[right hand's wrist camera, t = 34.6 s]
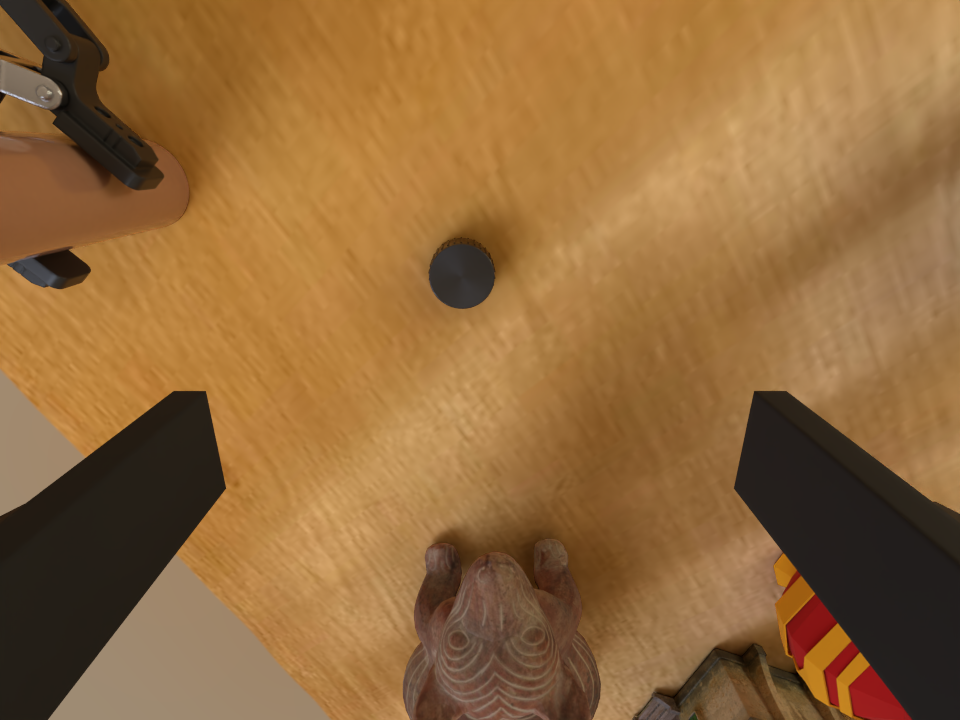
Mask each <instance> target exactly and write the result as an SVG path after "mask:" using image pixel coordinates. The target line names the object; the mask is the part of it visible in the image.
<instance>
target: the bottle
mask: <svg viewBox="0 0 960 720" xmlns="http://www.w3.org/2000/svg"><path fill="white" fill-rule="evenodd" d="M142 140H143V141H145V142H146V143H147V144H148V145H149V146H150V147H151V148H152V149H153V151H154V152H155V154H156V156H157V157H158V159H159V160H158V162H157V163H156V164H155V166H156V167H157V168H158V169H159V170H161V171H162V173H163V174H164V176H165V177H164V178H163V180H162V181H161V182H160V184H159V185H158V186H157V187H156V189H149V190H140V191H138V190H134V189H132V188H130V187H128V186H126V185H125V184H123V183H122V182H121V181H120V180H119V179H117V178H116V177H115V176H114V175H113V174H112V173H110V172H109V171H108V170H107V169H106V168H104V167H103V166H102V165H101V164H100V163H99V162H97V161H96V160H95V159H94V158H93V157H91V156H90V155H89V154H88V153H87V152H86V151H84V150H83V149H82V148H81V147H80V146H79V145H77V144H76V143H75V142H74V141H73V140H71V139H70V138H69V137H68V136H67V135H66V134H54V133H36V132H18V131H0V266H1V265H5V264H9V263H14V262H18V261H22V260H26V259H31V258H35V257H39V256H43V255H48V254H52V253H56V252H60V251H65V250H69V249H73V248H77V247H82V246H86V245H90V244H94V243H99V242H103V241H107V240H111V239H116V238H120V237H124V236H128V235H133V234H137V233H141V232H145V231H150V230H154V229H158V228H162V227H166V226H169V225H171V224H173V223H174V222H176V221H177V220H178V219H179V218H180V217H181V216H182V215H183V213H184V212H185V210H186V207H187V205H188V200H189V186H188V181H187V178H186V175H185V173H184V170H183V169H182V167H181V165H180V164H179V162H178V161H177V160H176V159H175V157H174V156H173V155H172V154H171V153H170V152H168V151H167V150H166V149H165V148H163V147H162V146H160V145H158V144H156V143H154V142H152V141H149V140H145V139H142Z"/></svg>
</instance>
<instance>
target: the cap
mask: <svg viewBox="0 0 960 720" xmlns="http://www.w3.org/2000/svg"><path fill="white" fill-rule="evenodd" d="M494 272H495V269H494V264H493V260H492V259H491V256H490V253H488V252H487V250H486V248H484V247H483V246H482V245H481V243H478V242H476V241H475V240H471V239H469V238H467V239H466V238H462V237H461V238H458V239H455V238H454V239H453V240H450V241H449V240H448V242H446V243H445V244H442V246H441V247H440V248H438V249H437V252H436V253H435V254H434V255H433V259H432V260H431V264H430V270H429V280H430V285H431V288H432V290H433V292H434V294H435V295H436V296H437V298H438V299H439V300H440V301H442V302H443V303H444V304H446V305H448V306H450V307H454V308H459V309H465V308H471V307H474V306H476V305H478V304H480V303H481V302H483V301H484V300H485V299H486V298H487V297H488V295H489V294H490V292H491V290H492V288H493V286H494V279H495V274H494Z"/></svg>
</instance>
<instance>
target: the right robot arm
mask: <svg viewBox="0 0 960 720" xmlns="http://www.w3.org/2000/svg"><path fill="white" fill-rule="evenodd" d="M225 489H226V486H225V481H224V476H223V471H222V467H221V462H220V457H219V452H218V447H217V442H216V438H215V433H214V428H213V423H212V418H211V414H210V409H209V404H208V399H207V394H206V391H173V392H172V393H171V394H169V395H168V396H167V397H165V398H164V399H163V400H161V401H160V402H159V403H158V404H156V405H155V406H154V407H152V408H151V409H150V410H148V411H147V412H146V413H144V414H143V415H142V416H140V417H139V418H138V419H136V420H135V421H134V422H132V423H131V424H130V425H129V426H127V427H126V428H125V429H123V430H122V431H121V432H119V433H118V434H117V435H115V436H114V437H113V438H111V439H110V440H109V441H107V442H106V443H105V444H103V445H102V446H101V447H100V448H98V449H97V450H96V451H94V452H93V453H92V454H90V455H89V456H88V457H86V458H85V459H84V460H82V461H81V462H80V463H79V464H77V465H76V466H74V467H73V468H72V469H71V470H69V471H68V472H67V473H65V474H64V475H63V476H61V477H60V478H59V479H57V480H56V481H55V482H53V483H52V484H51V485H50V486H48V487H47V488H45V489H44V490H43V491H42V492H40V493H39V494H38V495H36V496H35V497H34V498H32V499H31V500H30V501H28V502H27V503H26V504H24V505H21V506H20V507H17V508H16V509H14V510H12V511H10V512H8V513H6V514H4V515H2V516H0V720H48V719H49V717H50V716H51V715H52V714H53V712H54V711H55V710H56V708H57V707H58V706H59V704H60V703H61V702H62V701H63V699H64V698H65V697H66V695H67V694H68V693H69V691H70V690H71V689H72V688H73V686H74V685H75V684H76V682H77V681H78V680H79V679H80V677H81V676H82V675H83V673H84V672H85V671H86V669H87V668H88V667H89V665H90V664H91V663H92V662H93V660H94V659H95V658H96V656H97V655H98V654H99V652H100V651H101V650H102V649H103V647H104V646H105V645H106V643H107V642H108V641H109V639H110V638H111V637H112V636H113V634H114V633H115V632H116V631H117V629H118V628H119V627H120V625H121V624H122V623H123V621H124V620H125V619H126V618H127V616H128V615H129V614H130V612H131V611H132V610H133V608H134V607H135V606H136V605H137V603H138V602H139V601H140V599H141V598H142V597H143V595H144V594H145V593H146V592H147V590H148V589H149V588H150V586H151V585H152V584H153V582H154V581H155V580H156V579H157V577H158V576H159V575H160V573H161V572H162V571H163V570H164V568H165V567H166V566H167V564H168V563H169V562H170V560H171V559H172V558H173V556H174V555H175V554H176V553H177V551H178V550H179V549H180V547H181V546H182V545H183V544H184V542H185V541H186V540H187V538H188V537H189V536H190V534H191V533H192V532H193V531H194V529H195V528H196V527H197V525H198V524H199V523H200V522H201V520H202V519H203V518H204V516H205V515H206V514H207V512H208V511H209V510H210V509H211V507H212V506H213V505H214V503H215V502H216V501H217V499H218V498H219V497H220V496H221V494H222V493H223V492H224V490H225ZM734 489H735V490H736V492H737V493H738V494H739V496H740V497H741V498H742V499H743V501H744V502H745V503H746V505H747V506H748V507H749V509H750V510H751V511H752V512H753V514H754V515H755V516H756V518H757V519H758V520H759V522H760V523H761V524H762V525H763V527H764V528H765V529H766V531H767V532H768V533H769V534H770V536H771V537H772V538H773V540H774V541H775V542H776V544H777V545H778V546H779V547H780V549H781V550H782V551H783V553H784V554H785V555H786V557H787V558H788V559H789V560H790V562H791V563H792V564H793V566H794V567H795V568H796V570H797V571H798V572H799V573H800V575H801V576H802V577H803V579H804V580H805V581H806V582H807V584H808V585H809V586H810V588H811V589H812V590H813V592H814V593H815V594H816V595H817V597H818V598H819V599H820V601H821V602H822V603H823V605H824V606H825V607H826V608H827V610H828V611H829V612H830V614H831V615H832V616H833V618H834V619H835V620H836V621H837V623H838V624H839V625H840V627H841V628H842V629H843V631H844V632H845V633H846V634H847V636H848V637H849V638H850V640H851V641H852V642H853V643H854V645H855V646H856V647H857V649H858V650H859V651H860V653H861V654H862V655H863V656H864V658H865V659H866V660H867V662H868V663H869V664H870V666H871V667H872V668H873V669H874V671H875V672H876V673H877V675H878V676H879V677H880V679H881V680H882V681H883V682H884V684H885V685H886V686H887V688H888V689H889V690H890V691H891V693H892V694H893V695H894V697H895V698H896V699H897V701H898V702H899V703H900V704H901V706H902V707H903V708H904V710H905V711H906V712H907V714H908V715H909V716H910V717H911V719H912V720H960V514H959V513H957V512H955V511H953V510H951V509H949V508H947V507H945V506H943V505H941V504H939V503H937V502H932V501H930V500H929V499H928V498H926V497H925V496H924V495H922V494H921V493H920V492H918V491H917V490H916V489H915V488H913V487H912V486H911V485H909V484H908V483H907V482H905V481H904V480H903V479H901V478H900V477H899V476H897V475H896V474H895V473H893V472H892V471H891V470H889V469H888V468H887V467H886V466H884V465H883V464H882V463H880V462H879V461H878V460H876V459H875V458H874V457H872V456H871V455H870V454H868V453H867V452H866V451H864V450H863V449H862V448H860V447H859V446H858V445H857V444H855V443H854V442H853V441H851V440H850V439H849V438H847V437H846V436H845V435H843V434H842V433H841V432H839V431H838V430H837V429H835V428H834V427H833V426H831V425H830V424H829V423H828V422H826V421H825V420H824V419H822V418H821V417H820V416H818V415H817V414H816V413H814V412H813V411H812V410H810V409H809V408H808V407H806V406H805V405H804V404H802V403H801V402H800V401H799V400H797V399H796V398H795V397H793V396H792V395H791V394H789V393H788V392H787V391H754V394H753V399H752V404H751V409H750V414H749V418H748V423H747V428H746V433H745V438H744V442H743V447H742V452H741V457H740V462H739V467H738V471H737V476H736V481H735V486H734Z"/></svg>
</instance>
